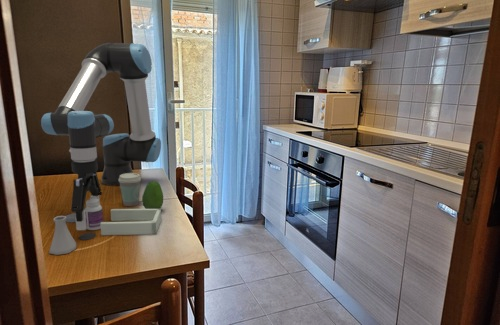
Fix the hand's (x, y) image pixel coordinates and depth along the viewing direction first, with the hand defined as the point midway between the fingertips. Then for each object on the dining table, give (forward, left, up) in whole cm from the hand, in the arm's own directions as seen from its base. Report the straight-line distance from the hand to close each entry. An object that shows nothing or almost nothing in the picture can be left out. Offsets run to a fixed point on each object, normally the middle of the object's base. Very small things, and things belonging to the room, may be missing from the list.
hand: (89, 221), depth 111 cm
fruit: (-14, +19, -3) cm, 23 cm away
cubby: (0, +14, -2) cm, 14 cm away
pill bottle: (0, +2, -3) cm, 3 cm away
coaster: (-8, -7, -2) cm, 11 cm away
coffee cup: (-22, +9, -3) cm, 24 cm away
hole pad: (+7, +2, -2) cm, 7 cm away
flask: (+15, -2, -3) cm, 15 cm away
